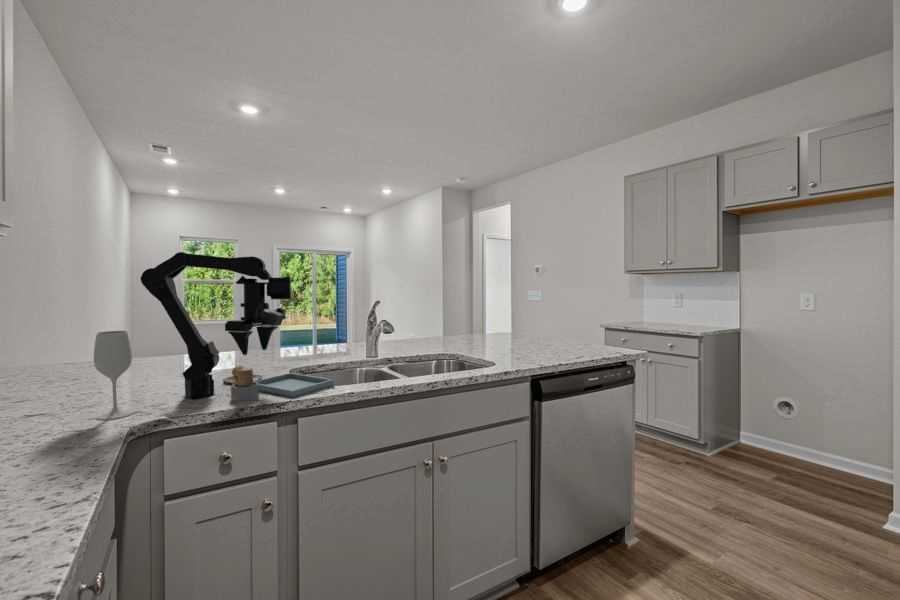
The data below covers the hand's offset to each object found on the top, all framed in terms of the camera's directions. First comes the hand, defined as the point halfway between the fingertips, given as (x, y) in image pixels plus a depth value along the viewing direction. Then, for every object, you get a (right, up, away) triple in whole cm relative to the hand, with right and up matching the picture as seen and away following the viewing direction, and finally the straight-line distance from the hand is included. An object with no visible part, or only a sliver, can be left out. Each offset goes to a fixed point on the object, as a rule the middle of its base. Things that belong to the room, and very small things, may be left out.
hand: (255, 352), depth 130 cm
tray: (+9, -12, +6) cm, 16 cm away
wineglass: (-26, -14, -20) cm, 36 cm away
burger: (-11, -12, +15) cm, 22 cm away
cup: (0, -13, -6) cm, 14 cm away
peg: (0, -12, -6) cm, 14 cm away
